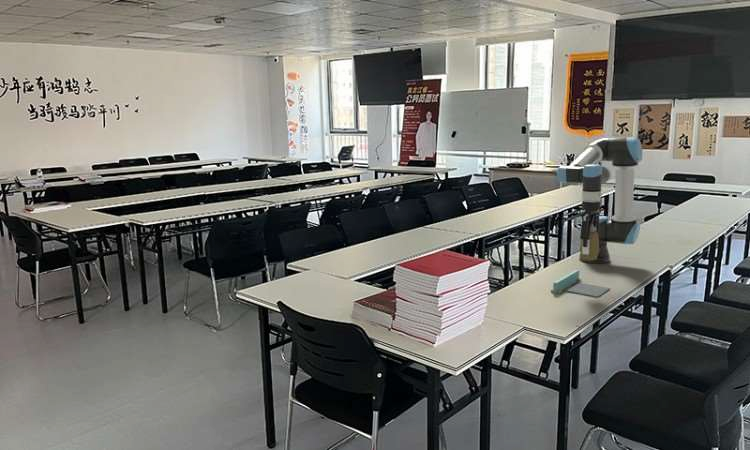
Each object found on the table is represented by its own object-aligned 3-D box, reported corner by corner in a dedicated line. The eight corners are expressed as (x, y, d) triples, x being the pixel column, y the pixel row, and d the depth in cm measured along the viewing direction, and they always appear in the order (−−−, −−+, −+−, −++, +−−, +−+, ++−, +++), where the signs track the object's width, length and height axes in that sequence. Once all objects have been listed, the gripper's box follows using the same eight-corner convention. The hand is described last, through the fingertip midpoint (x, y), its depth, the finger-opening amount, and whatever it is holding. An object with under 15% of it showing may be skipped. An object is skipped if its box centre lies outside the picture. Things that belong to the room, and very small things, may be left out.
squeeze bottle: (582, 255, 250) (583, 216, 246) (601, 258, 245) (602, 218, 241) (577, 260, 243) (578, 219, 240) (596, 262, 238) (597, 221, 235)
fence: (550, 292, 246) (550, 281, 245) (573, 279, 264) (573, 269, 263) (559, 294, 244) (559, 283, 243) (581, 280, 261) (581, 270, 260)
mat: (566, 291, 247) (566, 290, 246) (579, 283, 257) (579, 282, 256) (597, 297, 237) (597, 296, 237) (610, 289, 247) (610, 288, 247)
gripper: (590, 204, 229) (588, 258, 233) (609, 198, 244) (607, 248, 248) (572, 203, 234) (571, 255, 238) (592, 196, 249) (590, 246, 253)
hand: (589, 251), depth 243 cm, fingers closed on squeeze bottle, 8 cm apart
